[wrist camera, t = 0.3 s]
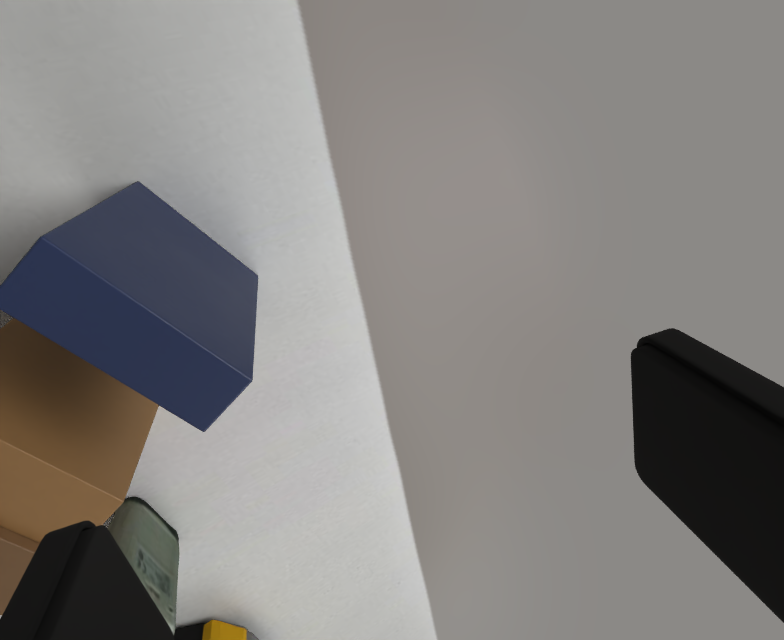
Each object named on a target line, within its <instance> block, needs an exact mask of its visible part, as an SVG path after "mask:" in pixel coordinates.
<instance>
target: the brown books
mask: <svg viewBox="0 0 784 640" xmlns="http://www.w3.org/2000/svg"><path fill="white" fill-rule="evenodd" d="M158 406H159V405H158V404H156V403H154V402H153V401H151V400H149V399H148V398H146V397H144V396H143V395H141V394H139V393H138V392H136V391H134V390H133V389H131V388H130V387H128V386H126V385H125V384H123V383H121V382H120V381H118V380H116V379H115V378H113V377H111V376H110V375H108V374H106V373H105V372H103V371H101V370H100V369H98V368H96V367H95V366H93V365H91V364H90V363H88V362H86V361H85V360H83V359H81V358H80V357H78V356H76V355H75V354H73V353H71V352H70V351H68V350H66V349H65V348H63V347H61V346H60V345H58V344H56V343H55V342H53V341H51V340H50V339H48V338H46V337H45V336H43V335H42V334H40V333H38V332H37V331H35V330H33V329H32V328H30V327H28V326H27V325H25V324H23V323H22V322H20V321H18V320H17V319H15V318H13V319H11V320H10V321H9V322H8V323H7V324H5V325H4V326H3V327H2V328H1V329H0V615H3V613H4V611H5V609H6V607H7V605H8V603H9V601H10V599H11V597H12V596H13V594H14V592H15V590H16V588H17V586H18V584H19V582H20V580H21V578H22V576H23V574H24V573H25V571H26V569H27V567H28V565H29V563H30V561H31V559H32V557H33V555H34V553H35V552H36V550H37V548H38V546H39V544H40V542H41V540H42V539H43V537H44V536H45V535H46V534H47V533H49V532H51V531H54V530H57V529H60V528H63V527H67V526H70V525H73V524H76V523H79V522H82V521H91V522H92V523H94V524H95V526H99V525H103V524H104V522H105V521H106V520H107V519H108V518H109V517H110V516H111V515H112V514H113V513H114V512H115V511H116V510H117V509H118V507H119V506H120V505H121V504H122V503H123V502H124V500H125V497H126V494H127V491H128V489H129V486H130V483H131V480H132V478H133V475H134V472H135V469H136V467H137V464H138V461H139V459H140V456H141V453H142V450H143V448H144V445H145V442H146V439H147V437H148V434H149V431H150V428H151V426H152V423H153V420H154V417H155V415H156V412H157V409H158Z"/></svg>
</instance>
